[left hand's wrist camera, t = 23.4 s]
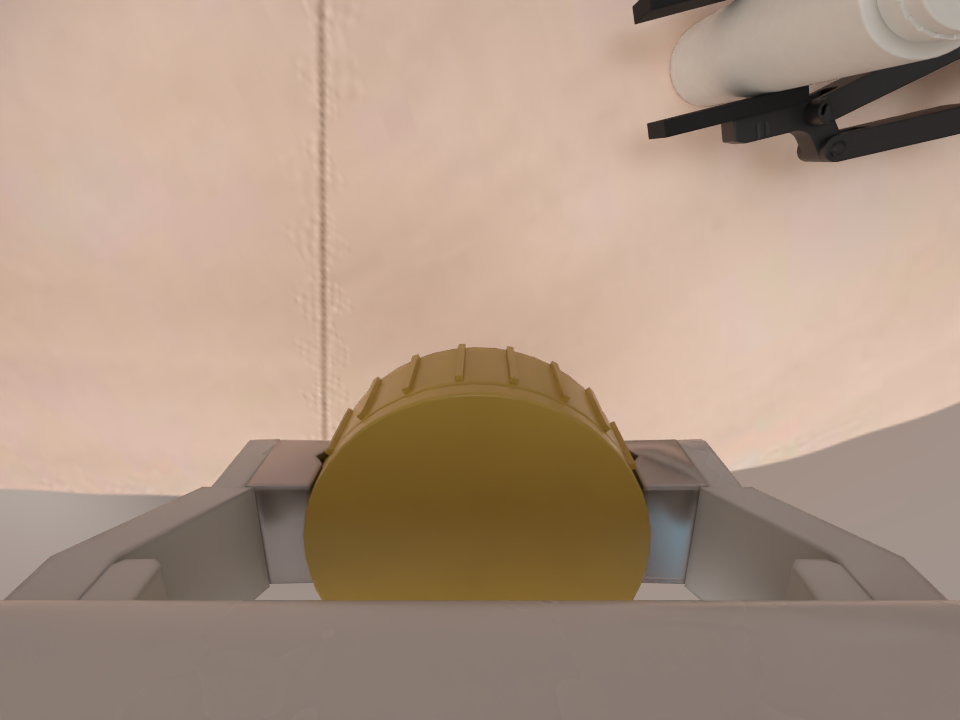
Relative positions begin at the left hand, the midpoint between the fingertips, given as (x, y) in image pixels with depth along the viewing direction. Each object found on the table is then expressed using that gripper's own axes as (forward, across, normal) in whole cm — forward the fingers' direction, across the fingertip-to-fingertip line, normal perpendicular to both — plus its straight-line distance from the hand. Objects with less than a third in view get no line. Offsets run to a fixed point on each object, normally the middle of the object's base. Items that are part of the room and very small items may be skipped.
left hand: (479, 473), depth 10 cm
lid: (-2, 0, 0) cm, 2 cm away
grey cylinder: (+27, +13, +10) cm, 32 cm away
